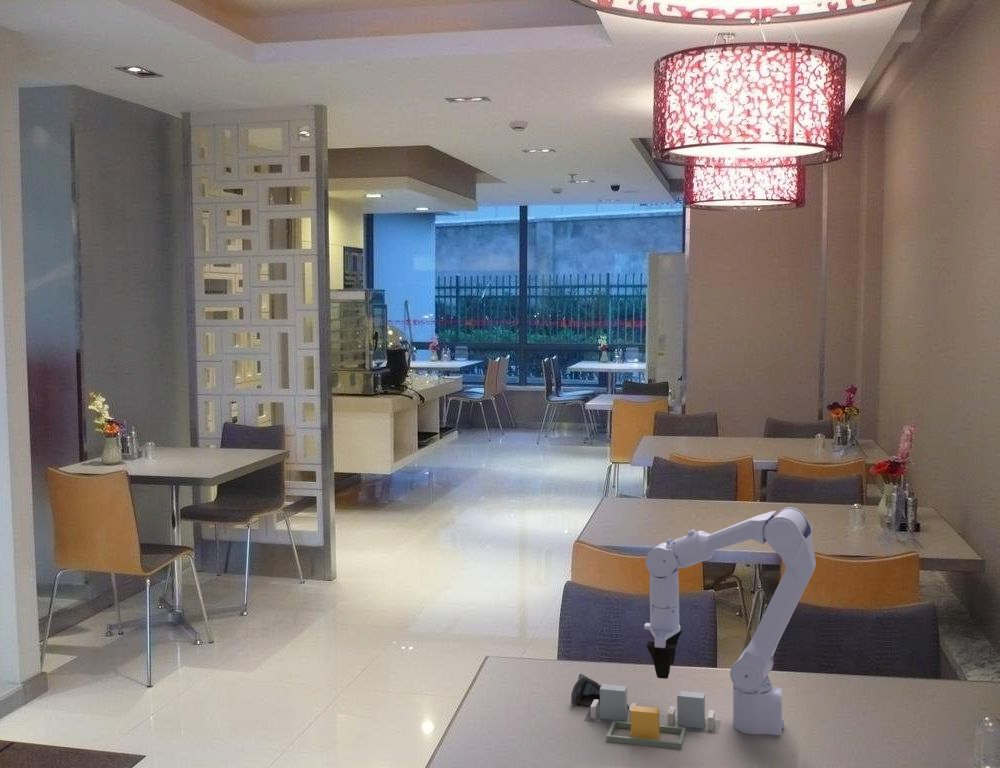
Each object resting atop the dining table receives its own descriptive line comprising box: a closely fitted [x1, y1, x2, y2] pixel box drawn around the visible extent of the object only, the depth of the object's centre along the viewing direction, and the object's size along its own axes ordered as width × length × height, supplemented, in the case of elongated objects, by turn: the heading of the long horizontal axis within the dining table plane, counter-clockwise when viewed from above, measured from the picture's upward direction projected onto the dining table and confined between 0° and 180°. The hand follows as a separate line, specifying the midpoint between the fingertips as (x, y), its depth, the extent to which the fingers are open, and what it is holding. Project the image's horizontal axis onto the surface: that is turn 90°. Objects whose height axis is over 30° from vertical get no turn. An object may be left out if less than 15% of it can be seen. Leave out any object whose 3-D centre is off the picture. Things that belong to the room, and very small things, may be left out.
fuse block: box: [583, 698, 722, 735], centre depth 199 cm, size 26×6×4 cm, turn 73°
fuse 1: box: [599, 683, 629, 721], centre depth 201 cm, size 5×3×6 cm, turn 73°
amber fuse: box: [630, 705, 661, 740], centre depth 192 cm, size 5×3×6 cm, turn 73°
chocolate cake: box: [570, 673, 630, 712], centre depth 210 cm, size 10×7×12 cm
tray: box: [605, 721, 687, 750], centre depth 192 cm, size 14×7×2 cm, turn 73°
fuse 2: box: [676, 690, 706, 728], centre depth 197 cm, size 5×3×6 cm, turn 73°
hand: (665, 670), depth 203 cm, fingers open, 7 cm apart
